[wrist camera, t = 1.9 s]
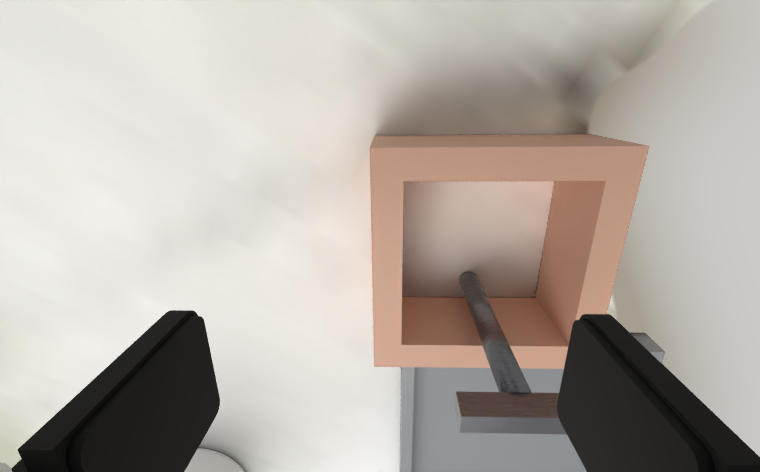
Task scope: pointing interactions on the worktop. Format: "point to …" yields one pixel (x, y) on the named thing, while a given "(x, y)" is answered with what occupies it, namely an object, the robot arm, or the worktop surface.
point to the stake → (501, 381)
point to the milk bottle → (212, 462)
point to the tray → (478, 450)
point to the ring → (560, 253)
